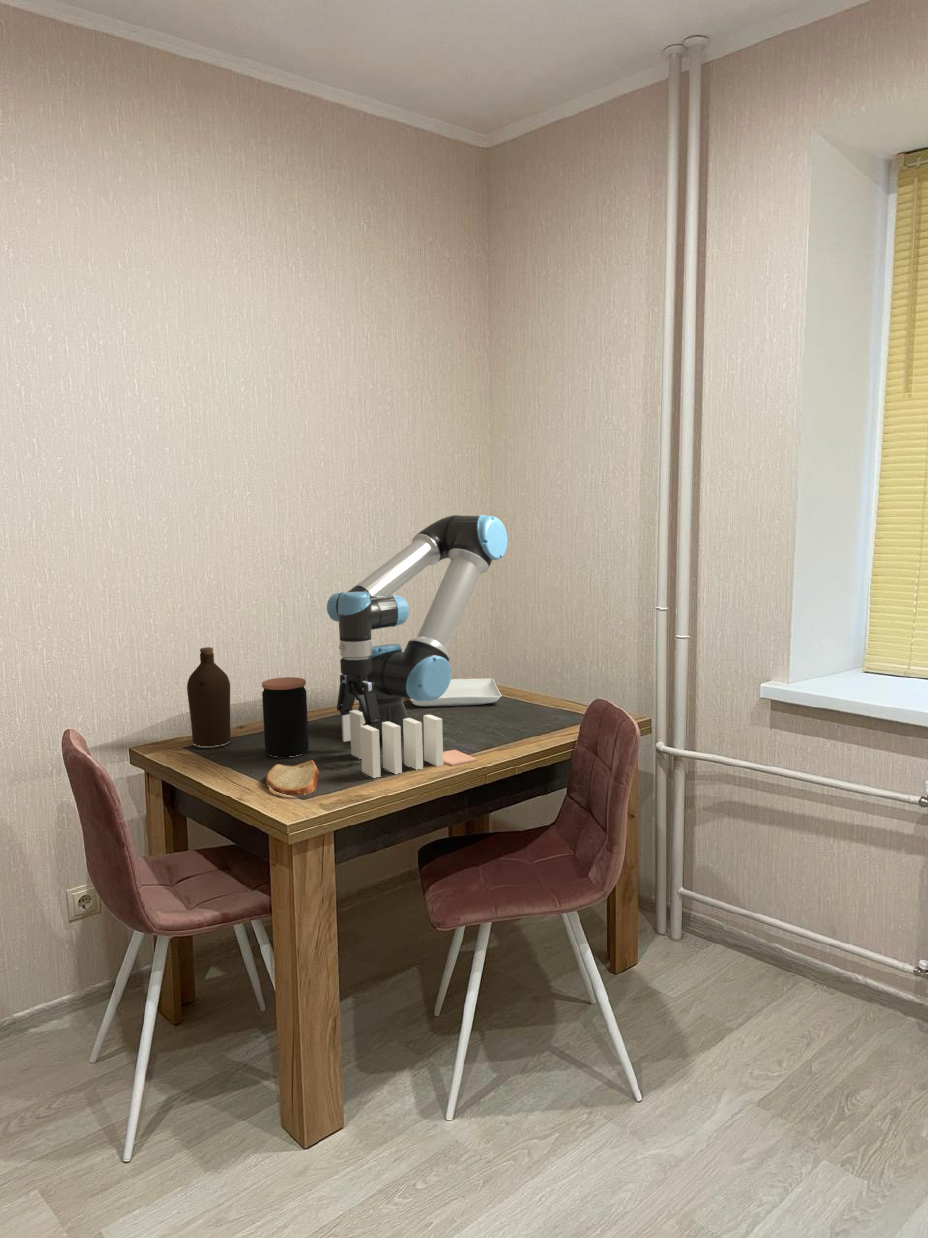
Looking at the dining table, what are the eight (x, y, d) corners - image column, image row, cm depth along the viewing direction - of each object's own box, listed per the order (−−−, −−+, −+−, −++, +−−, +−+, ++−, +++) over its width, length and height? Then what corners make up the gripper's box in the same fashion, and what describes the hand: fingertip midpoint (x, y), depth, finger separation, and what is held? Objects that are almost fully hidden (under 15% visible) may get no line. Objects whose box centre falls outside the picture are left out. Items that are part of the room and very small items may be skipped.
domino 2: (373, 779, 210) (371, 731, 208) (362, 773, 215) (360, 726, 213) (380, 777, 211) (379, 730, 209) (369, 771, 216) (367, 724, 214)
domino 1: (361, 760, 225) (359, 715, 223) (351, 755, 229) (349, 711, 228) (368, 759, 226) (366, 714, 224) (357, 753, 230) (356, 709, 229)
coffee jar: (317, 750, 234) (314, 679, 232) (289, 761, 225) (285, 687, 223) (285, 745, 240) (281, 675, 237) (255, 755, 230) (252, 683, 228)
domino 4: (416, 770, 216) (414, 723, 214) (404, 764, 220) (403, 719, 219) (423, 769, 217) (421, 722, 215) (411, 763, 221) (409, 717, 220)
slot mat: (452, 766, 218) (452, 764, 218) (430, 756, 227) (430, 754, 227) (477, 761, 222) (477, 759, 222) (454, 751, 230) (454, 749, 230)
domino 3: (395, 774, 213) (393, 727, 211) (383, 768, 218) (381, 722, 216) (401, 773, 214) (400, 726, 212) (390, 767, 218) (388, 721, 217)
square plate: (493, 688, 304) (493, 676, 303) (502, 708, 277) (502, 695, 276) (409, 691, 302) (409, 679, 301) (410, 711, 275) (409, 698, 274)
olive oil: (237, 746, 240) (232, 649, 236) (195, 752, 235) (189, 653, 231) (227, 736, 249) (222, 643, 245) (186, 742, 244) (180, 647, 241)
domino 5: (436, 766, 219) (435, 720, 217) (424, 760, 223) (423, 715, 222) (443, 765, 220) (442, 719, 218) (431, 759, 224) (429, 714, 223)
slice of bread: (301, 802, 196) (300, 785, 196) (238, 789, 206) (237, 773, 205) (354, 779, 212) (354, 763, 211) (294, 768, 221) (293, 752, 220)
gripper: (320, 652, 232) (324, 738, 235) (364, 666, 212) (367, 760, 215) (348, 648, 236) (351, 733, 239) (393, 662, 216) (396, 754, 219)
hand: (359, 746), depth 227 cm, fingers open, 11 cm apart
